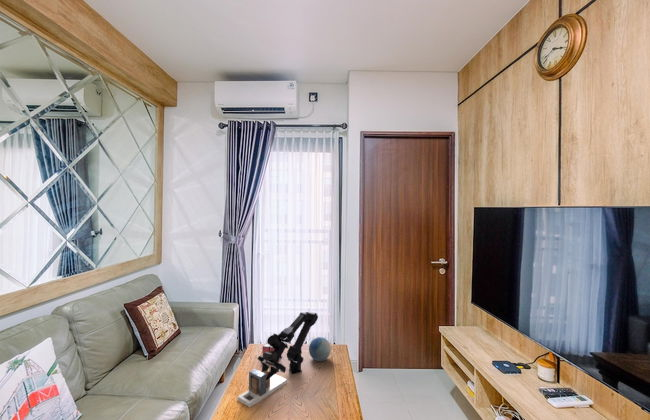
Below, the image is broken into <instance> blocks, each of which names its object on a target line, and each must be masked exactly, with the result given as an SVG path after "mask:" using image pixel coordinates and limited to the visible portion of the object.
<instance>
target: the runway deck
mask: <svg viewBox="0 0 650 420" xmlns="http://www.w3.org/2000/svg"><path fill="white" fill-rule="evenodd" d="M287 383H288V379H287V378H284V377H283V376H281V375H279V374H277V373H276V374H274V375H273V376H272V377H271V378H270V387H268V388H267V389H266V393H265V394H263V395H262V396H259V394H257V395H256V394H254V393H252V391H250V390H249V389H247V390H246V391H244V392H243V393H241V394H239V395H238V396H237V401H239V402H240V403H242V404H243V405H244V406H246V407H248V408H251V407H253V406H254V405H256V404H258V403H259V402H261V401H262V400H264V399H265V398H267V397H268V396H269V395H271V394H272V393H274V392H276V391H277V390H278V389H281V387H283V386H285V385H286V384H287Z"/></svg>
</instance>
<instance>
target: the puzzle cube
mask: <svg viewBox="0 0 650 420" xmlns="http://www.w3.org/2000/svg"><path fill="white" fill-rule="evenodd" d="M273 350H274V348H273V347H271V346H270V345H269V344H268V343H267V341H266V342H265V343H264V344H263V345H262V351H261V352H262V356H263V354H264V352H269V353H270V352H271V351H273Z"/></svg>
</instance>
